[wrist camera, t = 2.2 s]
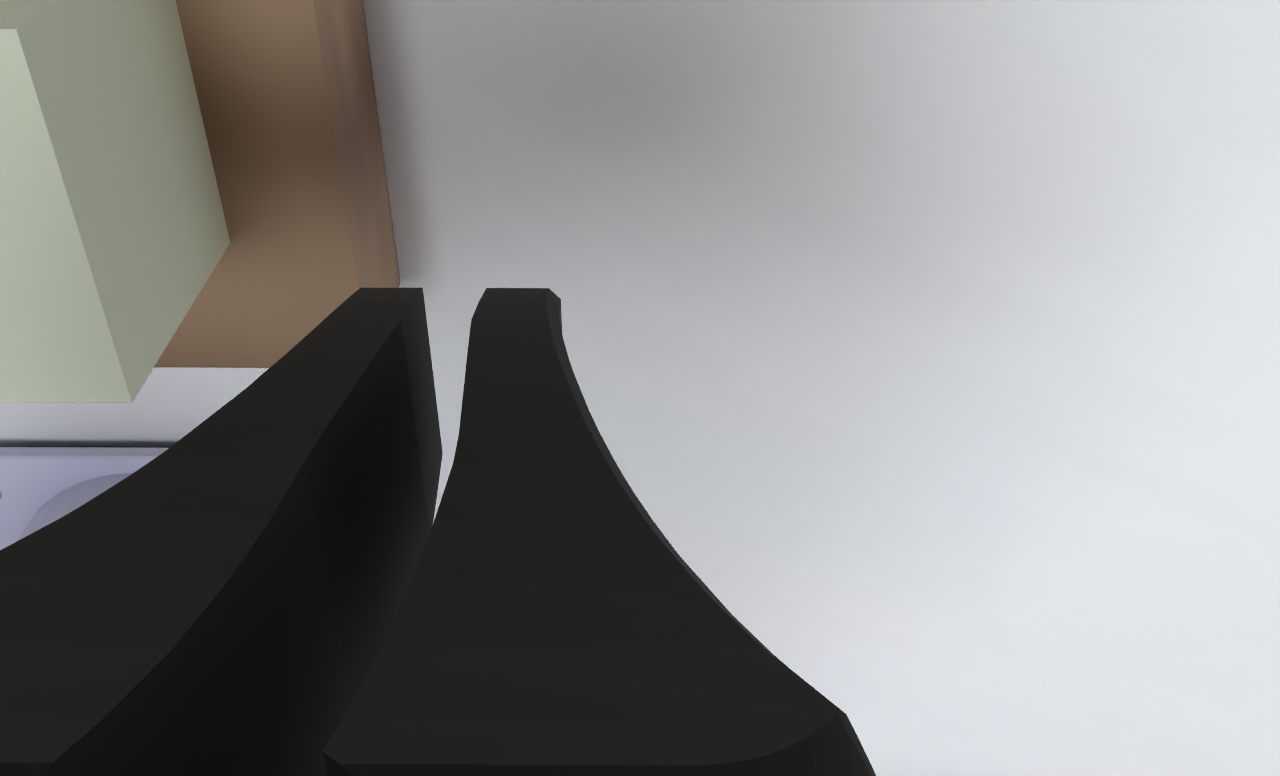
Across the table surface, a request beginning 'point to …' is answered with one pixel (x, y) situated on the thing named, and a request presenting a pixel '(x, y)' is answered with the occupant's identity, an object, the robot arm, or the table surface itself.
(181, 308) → the green block
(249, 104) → the brown wooden long tray
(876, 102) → the table surface
